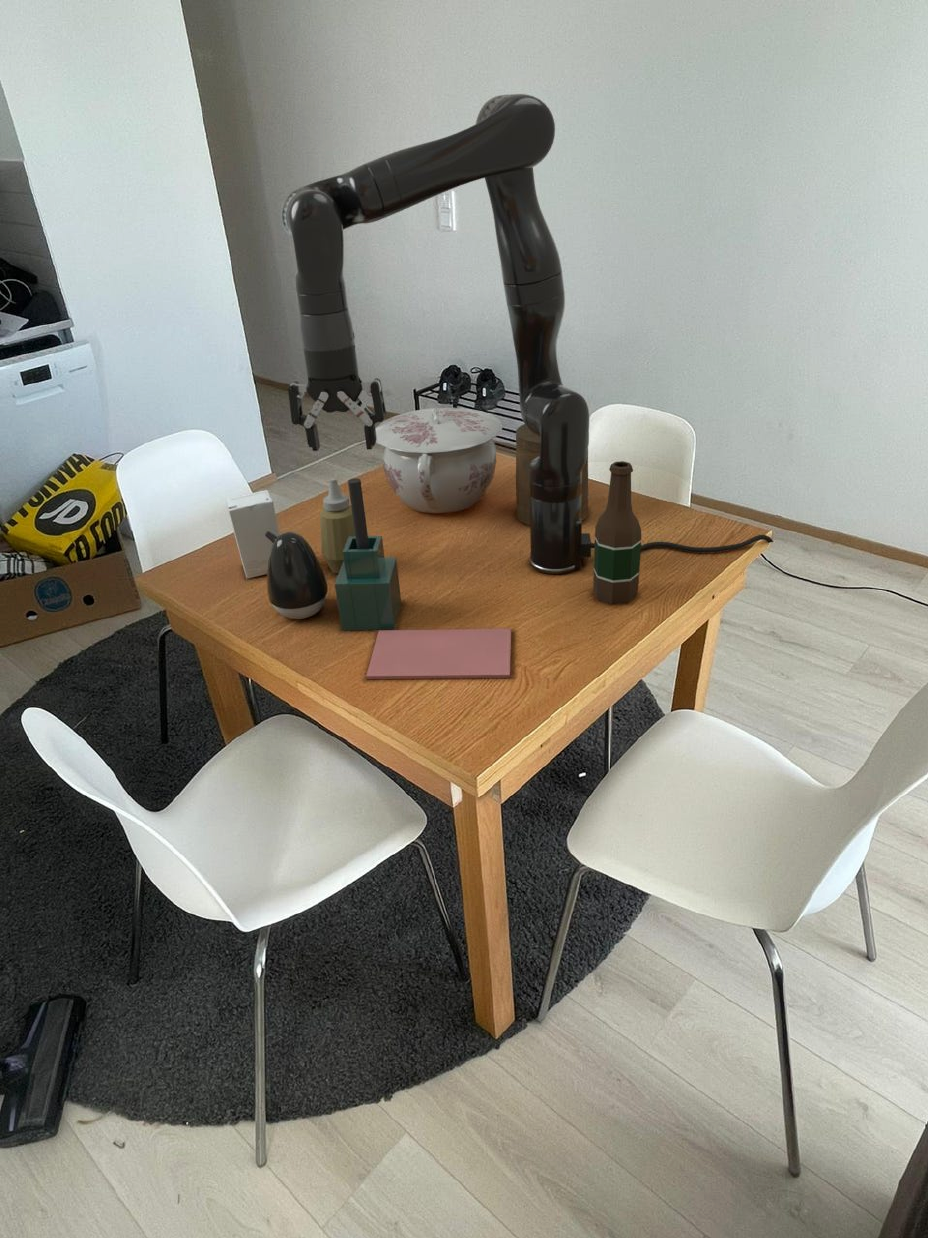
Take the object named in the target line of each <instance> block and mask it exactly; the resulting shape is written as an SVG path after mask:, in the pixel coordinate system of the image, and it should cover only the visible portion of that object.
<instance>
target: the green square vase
mask: <svg viewBox="0 0 928 1238" xmlns="http://www.w3.org/2000/svg"><path fill="white" fill-rule="evenodd" d="M368 541H369V549H357V544H356V537H355V536H354V537H353V536H349V538H348V540H347V543H346V545H345V548H344V550H343V557H344V562H343V564H342V567H341V569H340V572H339V573H338V575H337V577H336V580H335V583H334V589H335V593H336V594H335V596H336V602H337V607H338V608H337V609H338V614H339V620H340V621H339V622H340V627H341V631H379V630H396V627H397V622H398V618H399V614H400V610H401V605H402V595H401V586H400V578H399V569H398V560H397V557H385V549H384V542H383V535H368Z"/></svg>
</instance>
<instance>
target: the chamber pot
mask: <svg viewBox="0 0 928 1238" xmlns="http://www.w3.org/2000/svg"><path fill="white" fill-rule="evenodd" d="M375 429H376V437H377V440H376V444H378V445H380V446H382V447H384V448H383V450H382V455H381V460H382V468H383V472H384V475H385V477H386V481H387V483H388V485H389V487H390V488H391V490H392V492H394V493H395V495H396V496H397V497H398V498H399V499H400V501H401V502H402V503H403V504H404V505H405V506H406V507H408V508H410V509H412V510H414V511H417V512H421V513H427V514H447V513H453V512H458V511H462V510H466V509H468V508H471V507H472V506H474V505H475V504H477V503H478V502H479V501H480V500H481V499H482V498H483V496H484V494H485V493H486V491H487V490H488V488H489V486H490V485H491V483H492V482H493V479H494V478H495V477H494V476H495V472H496V465H497V447H496V443H495V441H494V440H493V439H495V438H496V437H497V436H499V434H500V433H501V431H502V430H503V425H502V421H500V419H499V418H497V417H496V416H495V415H493V414H491V413H488V412H486V411H482V410H477V409H472V408H466V407H465V408H463V407H446V406H445V407H430V408H422V409H418V410H417V409H416V410H411V411H408V412H404V413H401V414H397V415H394V416H391V417H390V418H387V419H384V420H383V421H382V422H380V423H379V424H378V425H377V426H375Z"/></svg>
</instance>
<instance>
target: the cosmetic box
mask: <svg viewBox="0 0 928 1238" xmlns="http://www.w3.org/2000/svg"><path fill="white" fill-rule="evenodd" d="M225 502H226V508H227V510H228V515H229V519H230V522H231V527H232V531H233V534H234V538H235V541H236V545H237V549H238V553H239V556H240V560H241V563H242V567H243V571H244V574H245V577H246V579H247V580H248V579H253V578H256V577H260V576H265V575H267V568H268V560H269V555H270V551H271V547H272V545H273V543H272V542H271V541H270V540H269V539H268V538H267V537H266V536H265V533H266V532H267V531H269V532H271V533H273V534H274V535H276V536H277V537H278V536H279V535H280V534H281V532H280V528H279V524H278V523H279V522H278V519H277V515H276V509H275V505H274V501H273V498H272V496H271V494H270V492H269V490H268V489H265V490H260V491H256V492H252V493H247V494H243V495H238V496H233V497H229V498H228V497H227V498H225Z"/></svg>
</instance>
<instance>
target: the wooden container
mask: <svg viewBox="0 0 928 1238" xmlns="http://www.w3.org/2000/svg"><path fill="white" fill-rule="evenodd" d="M540 444H541V437H539V436H538V435H536V434H534V433H533V432H532V431H530V430H529V429H528V428H527V426H526V425H525V423H523V424H521V425H519V427H517V428H516V430H515V493H516V495H515V496H516V497H515V499H516V516H517V518H518V520H519V521H521V522H522V523H524V524H526V525H529V526H530V477H529V467H530V463H531V461H532V460H533V459H535V458H536V457H538V456H540ZM589 444H590V435H589V436H588V446H590V445H589ZM588 507H589V448H588V449H587V458H586V462H585V464H584V467H583V469H582V489H581V521H582V522H583V521H584V520H585V519H586V518H587V517H588V511H589V510H588Z"/></svg>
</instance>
